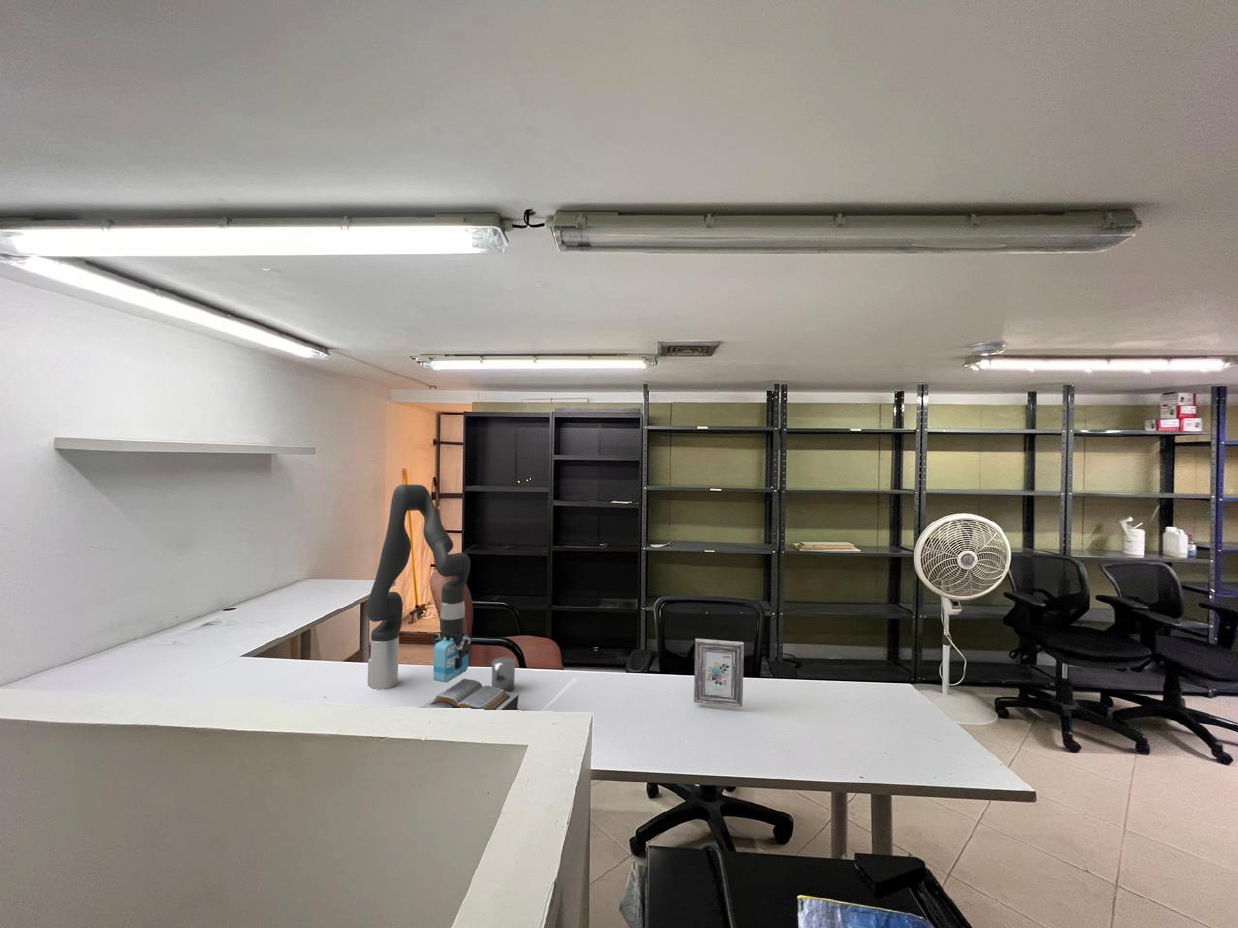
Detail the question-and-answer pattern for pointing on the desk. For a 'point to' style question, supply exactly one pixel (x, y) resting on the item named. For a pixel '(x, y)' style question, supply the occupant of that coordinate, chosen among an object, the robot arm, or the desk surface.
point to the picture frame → (718, 672)
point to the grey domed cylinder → (503, 673)
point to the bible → (474, 697)
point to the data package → (447, 661)
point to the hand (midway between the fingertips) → (451, 667)
